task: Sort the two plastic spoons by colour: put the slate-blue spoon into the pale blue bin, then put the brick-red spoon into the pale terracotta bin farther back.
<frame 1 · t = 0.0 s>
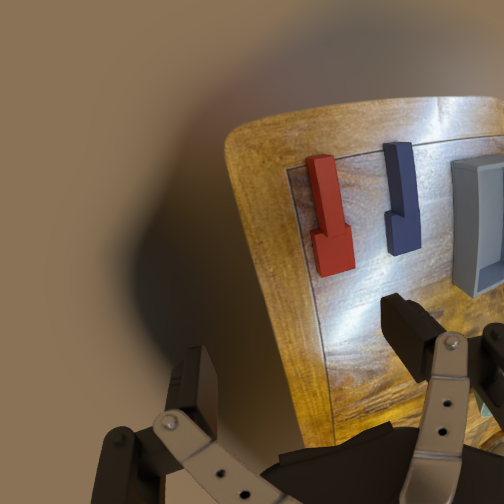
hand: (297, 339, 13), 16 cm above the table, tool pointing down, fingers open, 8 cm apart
bowl: (489, 357, 39), on the table
blue spoon: (397, 196, 28), on the table
blue bin: (481, 217, 30), on the table
red spoon: (325, 213, 28), on the table
lamp: (490, 441, 57), on the table
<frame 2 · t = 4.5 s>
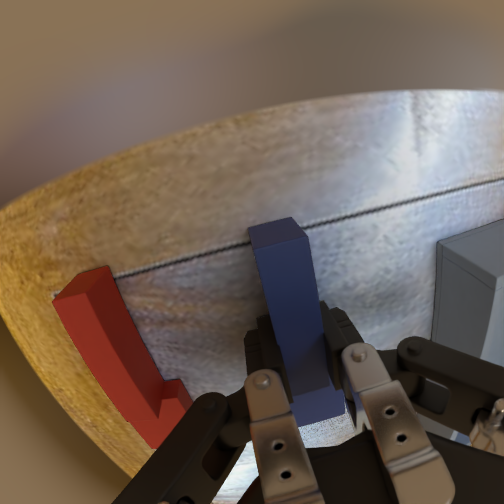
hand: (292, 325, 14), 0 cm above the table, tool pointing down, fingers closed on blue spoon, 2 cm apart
blue spoon: (294, 333, 14), on the table, touching gripper
blue bin: (484, 327, 16), on the table
red spoon: (139, 365, 14), on the table
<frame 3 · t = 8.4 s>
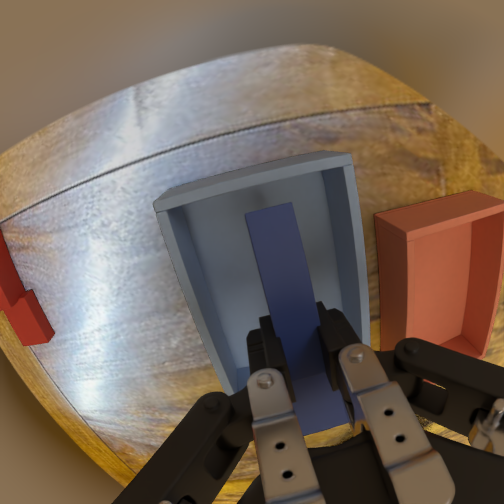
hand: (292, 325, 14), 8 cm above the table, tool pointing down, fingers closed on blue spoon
blue spoon: (292, 326, 14), point 7 cm above the table, tilted 16°, touching gripper
red bin: (429, 286, 23), on the table
blue bin: (273, 275, 21), on the table
red spoon: (13, 279, 20), on the table
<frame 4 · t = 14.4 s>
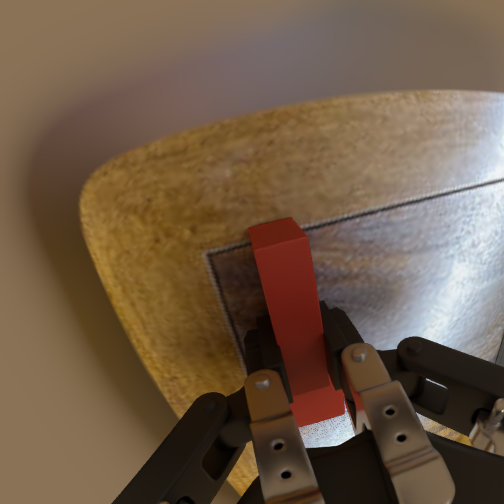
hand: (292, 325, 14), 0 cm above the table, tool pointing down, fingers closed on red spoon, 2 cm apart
red spoon: (294, 333, 14), on the table, touching gripper
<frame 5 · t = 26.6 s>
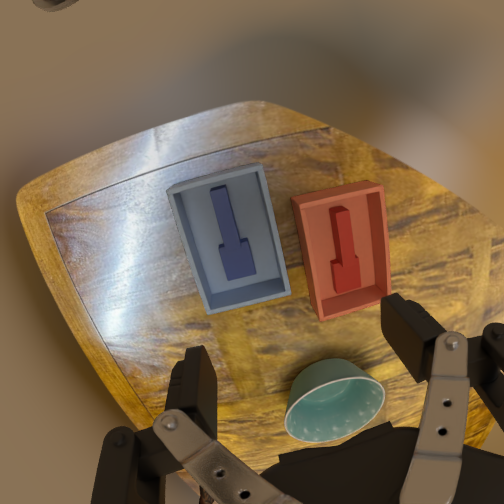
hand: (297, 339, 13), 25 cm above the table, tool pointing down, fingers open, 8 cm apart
bowl: (323, 378, 47), on the table
figurine: (207, 449, 52), on the table
blue spoon: (230, 230, 36), resting on blue bin
red bin: (339, 245, 39), on the table
blue bin: (231, 233, 37), on the table
red spoon: (341, 247, 38), resting on red bin
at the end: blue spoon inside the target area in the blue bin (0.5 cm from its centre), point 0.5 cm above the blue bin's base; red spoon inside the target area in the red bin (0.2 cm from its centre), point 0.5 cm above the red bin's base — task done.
